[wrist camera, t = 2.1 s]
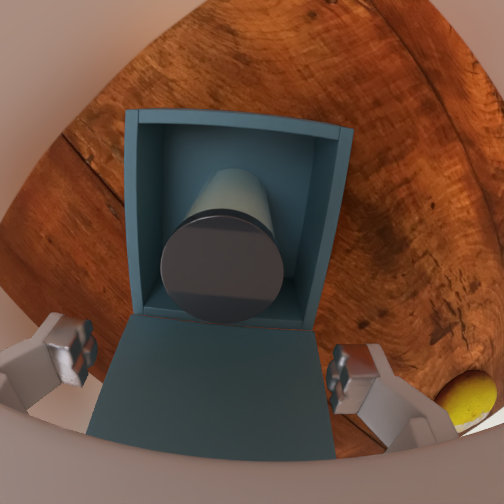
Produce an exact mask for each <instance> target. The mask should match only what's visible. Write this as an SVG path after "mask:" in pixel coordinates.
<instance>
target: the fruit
mask: <svg viewBox="0 0 504 504" xmlns="http://www.w3.org/2000/svg"><path fill="white" fill-rule="evenodd" d="M496 397H497V389H496V384H495V382H494V380H493V379H492V377H491V376H490V375H489V374H487V373H485V372H481V371H479V370H477V371H476V370H471V371H468V372H465V373H463V374H461V375H460V376H458V377H456V378H455V379H453V380H452V381H451V382H450V383H448V384H447V385H446V386H445V387H444V388H443V389H442V390H441V391H440V393H439V395H438V397H437V398H436V399H435V400H436V401H435V403H436V404H438V405H439V406H441V407H442V408H443V409H445V410H446V411H447V412H448V414H449V416H450V418H451V420H452V422H453V425H454V427H455V429H456V431H457V433H458V432H462V431H464V430H465V429H468V428H469V427H470V426H473V425H475V424H477V423H479V422H480V421H481V420H483V419H484V418H485V417H486V416H487V415H488V414H489V412H490V410H491V409H492V407H493V405H494V403H495V400H496Z"/></svg>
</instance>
